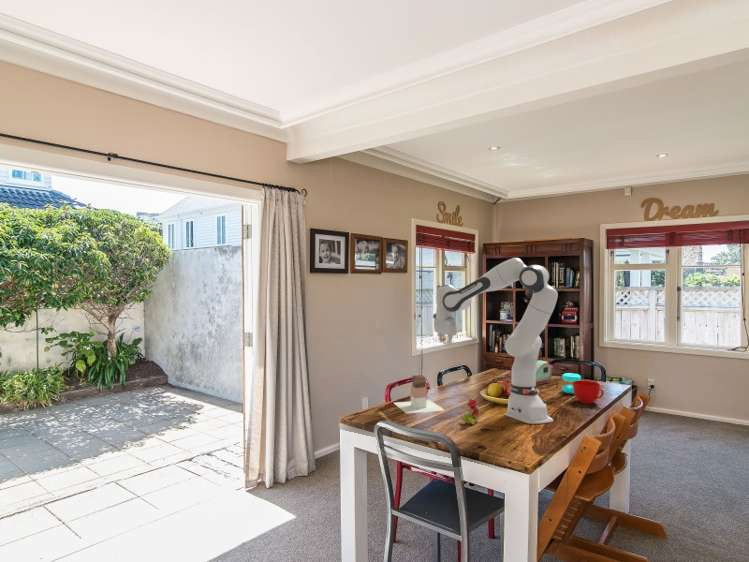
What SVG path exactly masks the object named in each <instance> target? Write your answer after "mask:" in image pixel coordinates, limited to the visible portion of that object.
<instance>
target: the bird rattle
mask: <svg viewBox="0 0 749 562" xmlns="http://www.w3.org/2000/svg"><path fill="white" fill-rule="evenodd" d="M466 405H467V407H469V410H468V412H467V413H464V414H463V415H464V416H462V418H461V421H463V422H464V423H465V424H469V423H471V424H470V425H474V426H475V425H476V423H477V422H478V419H480V416H481V414H482V413H481V408H480V407H479V406H478V405H479V403H478V401H477V399H472V398H469V400H468V402H467V403H466Z"/></svg>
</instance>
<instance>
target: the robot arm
mask: <svg viewBox="0 0 749 562" xmlns="http://www.w3.org/2000/svg"><path fill="white" fill-rule="evenodd" d="M550 279H551V273H550V270H549V269H548V268H547V267H546V266H544V265H542V264H541V265H540V264H528V265H526V264H525V263H524V262H523V260H522V259H521V258H518V257H512V258H510V259H507V260H505V261H503V262H501V263H499V264H497V265H495V266H494V267H492V268H491V269H490V270H489V271H487V272H485V273H484V274H483V275H481V276H480V277H479V278H477V279H476V280H474V281H472V282H471V283H469V284H467V285H465V286H464V287H462V288H459V289H458V288H455V287H454V286H453V285H452V284H444V285H441V286H438V288H437V289H436V296H435V297H436V299H435V301H436V305H437V306H436V312H434V314H433V315H432V318H433V319H434V320H433V329H434V332H435V333H437V334H438V339H439V342H440V343H442V342H444V341H445V340H444V339H445V338H444V336H443V335H447V337H448V338H447V340H446V342H447V344H449V345H452V342H453V336H456V335H457V332H458V331H457V330H458V328H457V322H456V320H455V319H454V315H455V314H454V313H455V312H457V311H463V310H467V309H469V308H470V307H471V305H472V301H473V300H472V298H474V297H475V296H478V295H480V294H482V293H483V294H484V293H486V292H488V293H489V292H495V291H499V290H503V289H505V288H506V287H509V286H510V285H512V284H514V283H515V282H517V281H519V282H520V284H521V285H522V286H523V288H525V289H526V290H527V291H529V292H530V293H532V296H531V298H530V301H529V303H528V305H527V306H526V307H527V308H526V309H525V311H524V314H523V315H522V318H521V320H520V321H519V322H518V324H517V325H516V327H515V328H514V329H513V331H512V332H511V334H510V335H509V337H508V338H506V340H505V342H504V349H505V351H506V353H507V355H509V356H511V357H514V361H513V364H512V365H511V383H510V386H509V388H510V389H509V390H510V395H509V397H508V400H507V402H508V403H507V411H506V412H505V416H506V417H509V418H511V419H514V420H517V421H519V422H522V423H525V424H529V425H530V424H533V425H535V424H536V425H537V424H538V425H540V424H548V423H552V422H554V419H553V418H552V417H551V416H549V415H548V408H547V407H548V406H547V404H546V403H544V401H543V400H542V399H541V397H540V396H539V392H540V391H539V390H540V389H539V388H538V387H537V386H538V385H536V365H537V361H538V359H539V354H540V350H541V347H542V344H543V343H542V338H541V337H540V335H541V333H542V332H543V331H544V330H545V329H546V326H547V324H548V323H549V321H550V319H551V316H552V314H553V313H554V310H555V307H556V304H557V301H558V297H559V294H558V290H556V289H555V288H554V287H553V286H551V285H549V281H550Z"/></svg>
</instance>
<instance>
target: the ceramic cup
mask: <svg viewBox="0 0 749 562" xmlns="http://www.w3.org/2000/svg"><path fill="white" fill-rule="evenodd" d="M572 385H573V390H574V396H575V398H576V399H577V400H578V401H579V403H581V404H587V405H588V404H590V405H591V404H592V405H593V403H594V402H595V401H596V400H598V399H601V398H602V397H603V396H604V390H603V389H602V388H601V384H600V383H599V382H596V381H592V380H580V381H574V382H572Z"/></svg>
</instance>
